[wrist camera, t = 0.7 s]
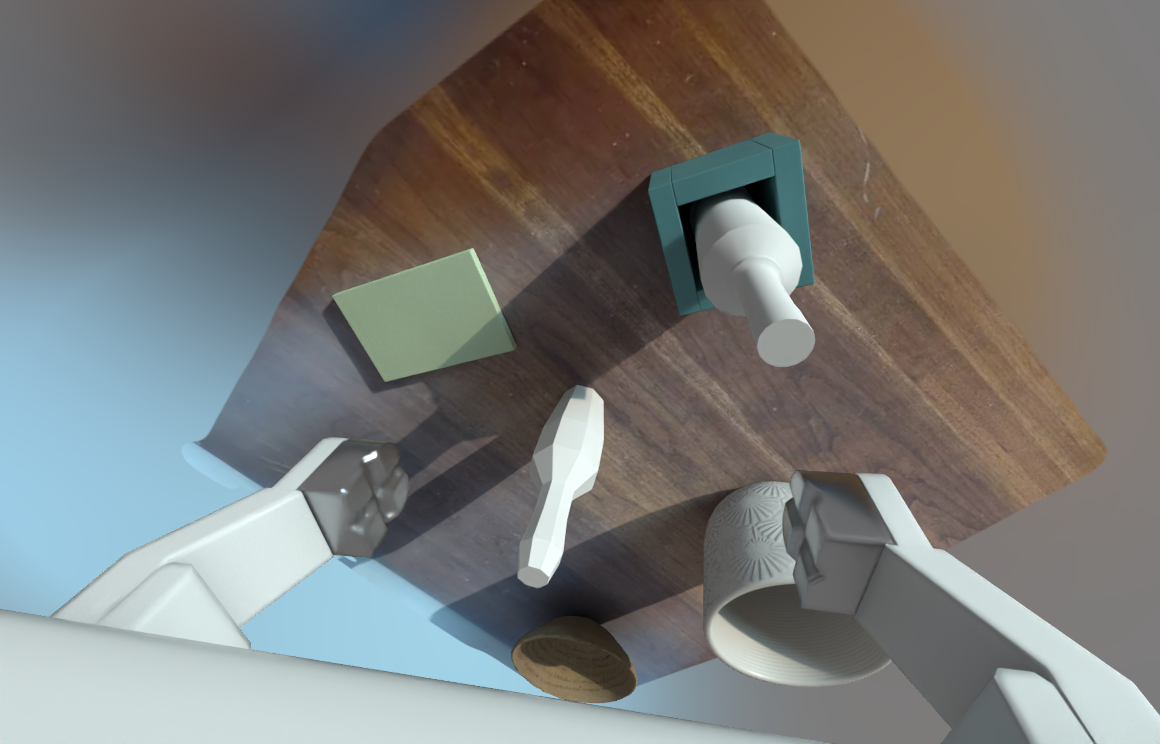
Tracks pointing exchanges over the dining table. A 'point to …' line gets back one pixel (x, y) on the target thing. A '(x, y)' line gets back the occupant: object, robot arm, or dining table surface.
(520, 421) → the dining table surface
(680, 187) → the holster
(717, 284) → the bottle
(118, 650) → the robot arm
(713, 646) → the planter
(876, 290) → the dining table surface
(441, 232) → the dining table surface
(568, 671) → the bowl
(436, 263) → the mat
